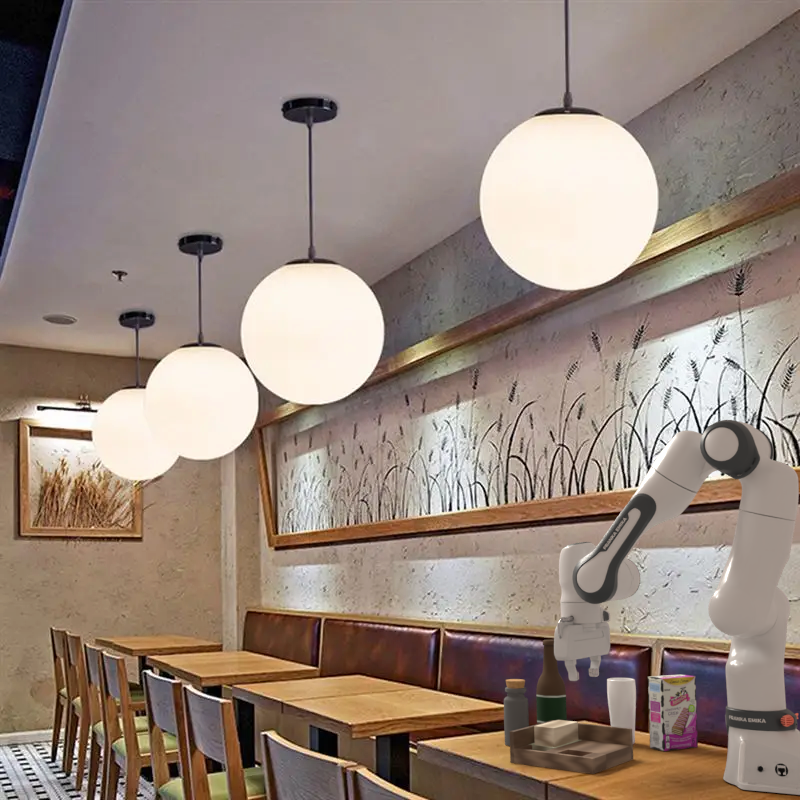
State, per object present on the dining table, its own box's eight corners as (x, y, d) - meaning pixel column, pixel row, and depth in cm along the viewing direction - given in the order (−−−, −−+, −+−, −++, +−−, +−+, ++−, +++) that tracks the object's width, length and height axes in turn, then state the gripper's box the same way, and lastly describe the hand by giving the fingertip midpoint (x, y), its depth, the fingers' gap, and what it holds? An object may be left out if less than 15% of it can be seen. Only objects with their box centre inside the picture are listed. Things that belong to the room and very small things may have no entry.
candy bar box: (665, 752, 225) (661, 678, 228) (649, 748, 229) (646, 676, 232) (700, 747, 231) (696, 675, 233) (684, 744, 235) (680, 673, 238)
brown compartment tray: (633, 759, 217) (632, 728, 218) (593, 774, 203) (592, 741, 204) (553, 749, 229) (552, 720, 231) (510, 762, 215) (509, 731, 216)
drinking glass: (638, 746, 232) (635, 681, 234) (609, 745, 233) (606, 680, 236) (637, 741, 238) (634, 677, 241) (609, 740, 240) (606, 677, 242)
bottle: (500, 743, 237) (498, 679, 239) (520, 741, 239) (518, 678, 242) (513, 747, 232) (512, 682, 234) (534, 745, 234) (532, 680, 237)
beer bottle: (561, 744, 236) (558, 641, 240) (531, 741, 240) (528, 640, 244) (573, 739, 242) (570, 639, 246) (544, 736, 246) (541, 638, 250)
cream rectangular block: (578, 740, 224) (577, 721, 225) (554, 747, 216) (553, 728, 216) (559, 737, 227) (558, 719, 228) (534, 744, 219) (534, 726, 219)
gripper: (570, 617, 212) (574, 683, 209) (613, 613, 228) (617, 674, 225) (545, 617, 216) (548, 682, 213) (589, 613, 231) (592, 673, 229)
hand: (584, 678), depth 219 cm, fingers open, 8 cm apart
